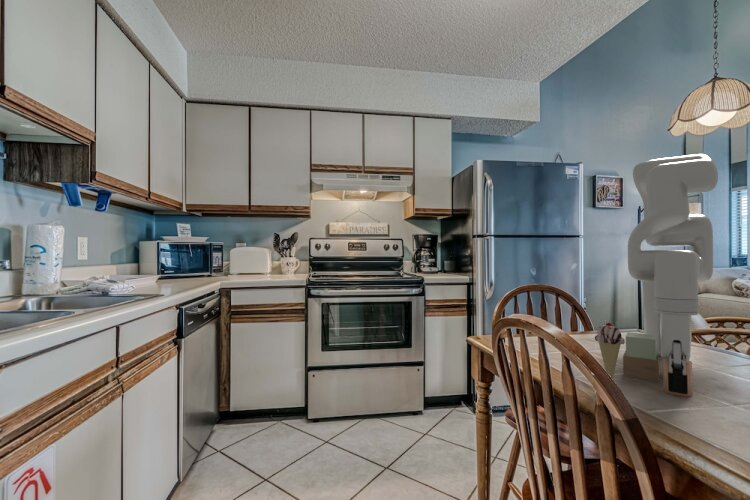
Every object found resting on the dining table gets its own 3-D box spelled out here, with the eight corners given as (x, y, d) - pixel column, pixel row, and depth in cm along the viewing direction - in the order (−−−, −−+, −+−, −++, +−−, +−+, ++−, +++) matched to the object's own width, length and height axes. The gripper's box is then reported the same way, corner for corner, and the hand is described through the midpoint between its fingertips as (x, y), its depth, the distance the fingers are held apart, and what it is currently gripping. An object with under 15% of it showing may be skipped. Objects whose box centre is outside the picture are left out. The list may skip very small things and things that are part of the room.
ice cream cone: (630, 393, 81) (628, 324, 81) (601, 391, 82) (600, 324, 82) (618, 384, 86) (617, 320, 87) (591, 383, 87) (590, 319, 88)
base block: (626, 369, 98) (625, 350, 98) (659, 374, 94) (658, 354, 94) (623, 376, 93) (623, 356, 93) (658, 381, 88) (657, 360, 88)
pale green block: (628, 351, 98) (627, 332, 98) (656, 354, 94) (656, 335, 94) (626, 356, 93) (625, 336, 93) (655, 360, 89) (655, 339, 89)
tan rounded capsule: (663, 386, 85) (662, 356, 85) (692, 391, 81) (691, 359, 82) (663, 393, 81) (662, 361, 81) (693, 398, 78) (692, 365, 78)
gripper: (655, 301, 90) (657, 375, 90) (653, 309, 77) (655, 396, 77) (696, 303, 86) (698, 381, 85) (700, 312, 72) (703, 405, 72)
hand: (677, 387), depth 81 cm, fingers closed on tan rounded capsule, 5 cm apart
